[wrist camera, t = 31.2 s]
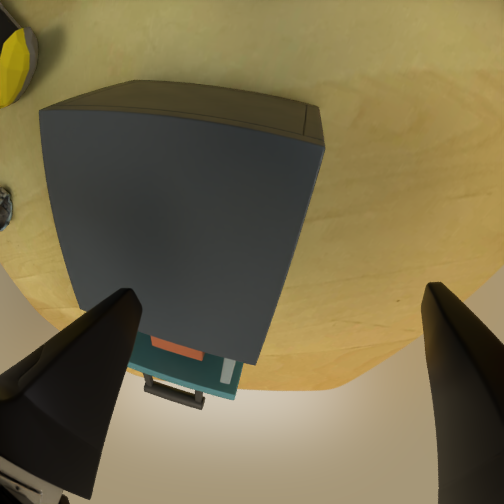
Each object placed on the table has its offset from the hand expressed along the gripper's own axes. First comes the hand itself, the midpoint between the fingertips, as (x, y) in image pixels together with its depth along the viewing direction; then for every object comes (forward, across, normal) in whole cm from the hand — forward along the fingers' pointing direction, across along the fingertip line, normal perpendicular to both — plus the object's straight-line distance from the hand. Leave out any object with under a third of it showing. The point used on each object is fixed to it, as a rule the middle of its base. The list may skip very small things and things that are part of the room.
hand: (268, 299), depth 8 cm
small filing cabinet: (+13, +6, +1) cm, 15 cm away
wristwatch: (+13, +33, -1) cm, 35 cm away
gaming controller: (+13, +22, -17) cm, 31 cm away
